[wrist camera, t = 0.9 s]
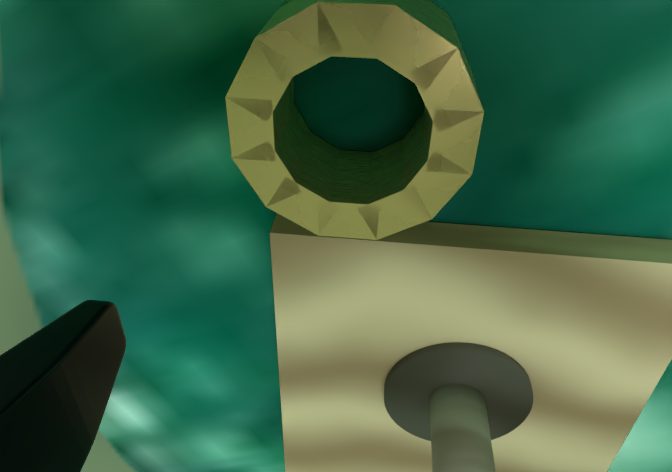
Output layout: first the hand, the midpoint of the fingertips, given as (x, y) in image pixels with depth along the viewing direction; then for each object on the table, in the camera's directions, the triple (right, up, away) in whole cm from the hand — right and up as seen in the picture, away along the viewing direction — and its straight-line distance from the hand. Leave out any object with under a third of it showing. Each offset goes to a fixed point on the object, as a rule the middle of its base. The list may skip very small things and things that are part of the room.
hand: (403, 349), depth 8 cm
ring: (0, +7, +10) cm, 12 cm away
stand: (+5, -4, +17) cm, 18 cm away
